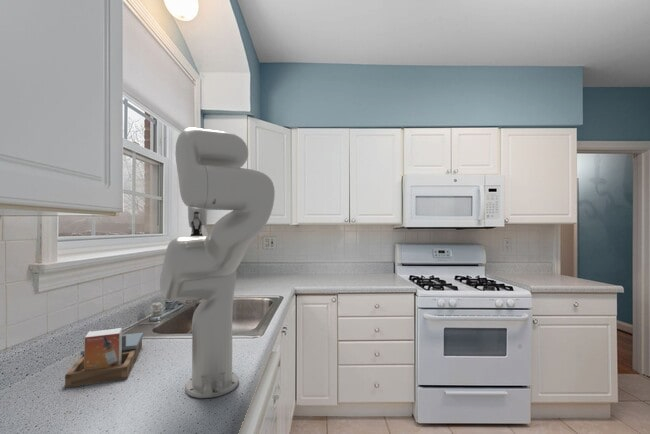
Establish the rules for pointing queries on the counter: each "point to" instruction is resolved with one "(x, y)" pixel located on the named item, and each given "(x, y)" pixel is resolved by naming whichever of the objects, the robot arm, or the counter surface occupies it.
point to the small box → (103, 349)
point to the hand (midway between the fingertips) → (196, 247)
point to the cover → (128, 341)
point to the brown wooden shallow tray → (102, 370)
